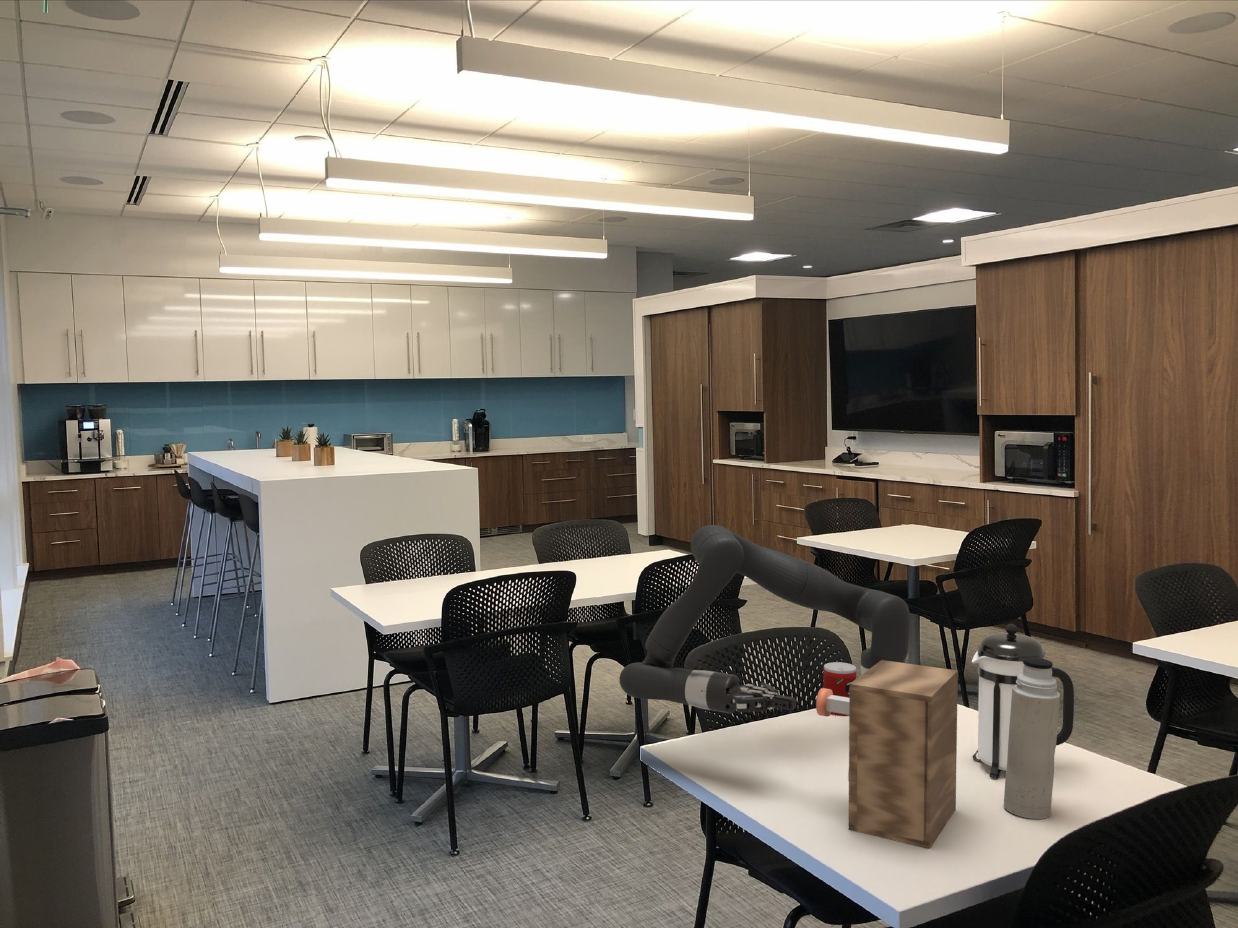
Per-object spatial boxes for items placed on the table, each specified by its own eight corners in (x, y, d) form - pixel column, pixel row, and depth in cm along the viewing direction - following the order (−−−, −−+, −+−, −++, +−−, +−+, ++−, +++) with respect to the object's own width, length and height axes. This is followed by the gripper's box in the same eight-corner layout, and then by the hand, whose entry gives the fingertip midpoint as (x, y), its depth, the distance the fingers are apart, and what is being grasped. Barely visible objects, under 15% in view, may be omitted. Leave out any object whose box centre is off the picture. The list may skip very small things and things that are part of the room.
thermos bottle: (1042, 800, 180) (1053, 654, 178) (1057, 820, 172) (1069, 668, 170) (998, 797, 181) (1008, 652, 178) (1011, 817, 173) (1022, 665, 170)
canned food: (838, 718, 228) (838, 672, 228) (816, 708, 235) (816, 664, 235) (863, 713, 232) (863, 668, 231) (841, 704, 239) (841, 660, 238)
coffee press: (1031, 791, 185) (1034, 637, 183) (955, 767, 197) (957, 622, 195) (1073, 769, 196) (1077, 623, 194) (999, 747, 208) (1002, 610, 206)
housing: (848, 829, 170) (849, 683, 168) (880, 793, 185) (881, 659, 183) (929, 848, 162) (931, 696, 160) (955, 809, 177) (957, 670, 175)
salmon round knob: (816, 718, 179) (816, 691, 178) (825, 710, 183) (825, 684, 182) (888, 731, 171) (888, 703, 171) (896, 723, 176) (897, 696, 175)
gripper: (696, 681, 187) (780, 694, 178) (727, 664, 198) (807, 675, 189) (697, 718, 188) (780, 734, 178) (727, 700, 199) (807, 713, 189)
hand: (794, 704), depth 184 cm, fingers closed
